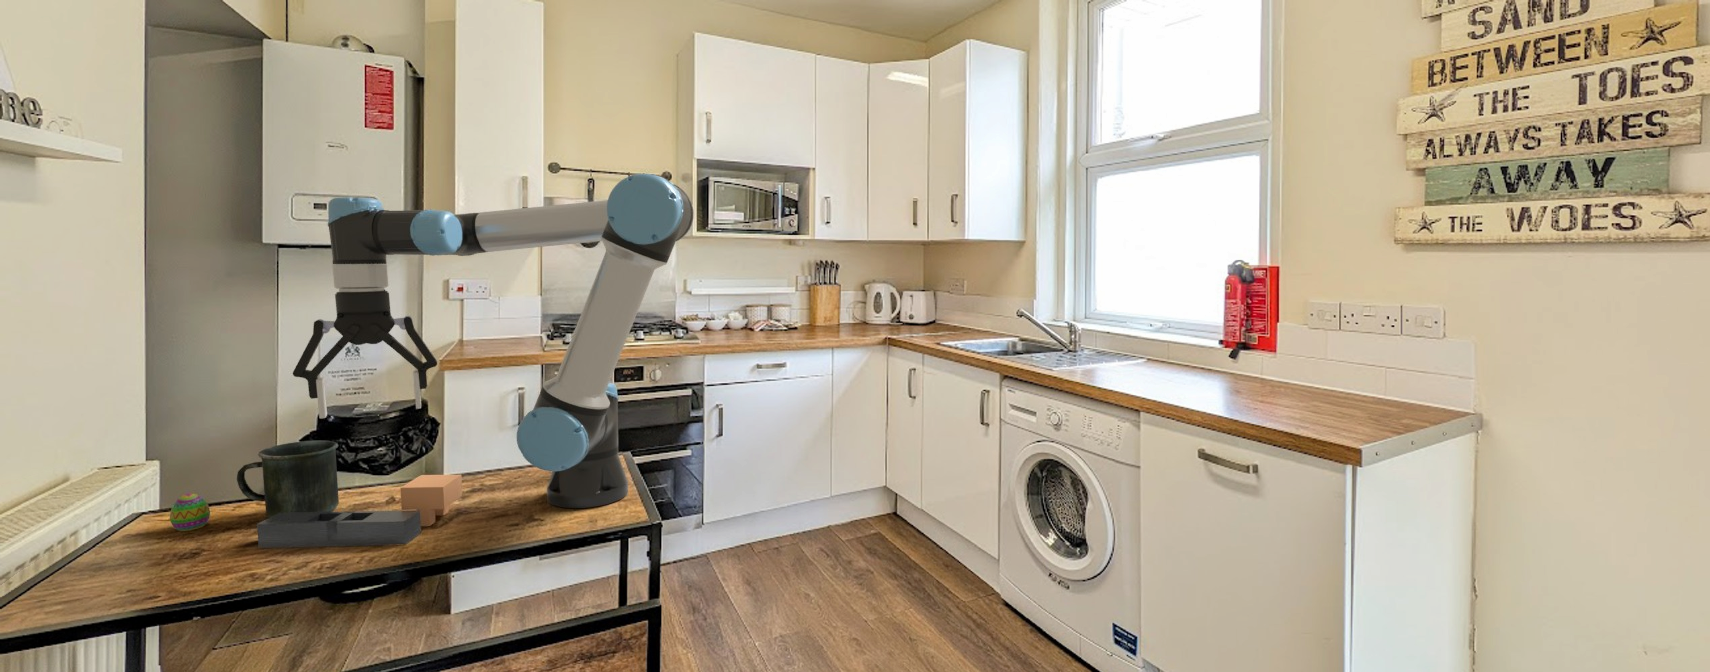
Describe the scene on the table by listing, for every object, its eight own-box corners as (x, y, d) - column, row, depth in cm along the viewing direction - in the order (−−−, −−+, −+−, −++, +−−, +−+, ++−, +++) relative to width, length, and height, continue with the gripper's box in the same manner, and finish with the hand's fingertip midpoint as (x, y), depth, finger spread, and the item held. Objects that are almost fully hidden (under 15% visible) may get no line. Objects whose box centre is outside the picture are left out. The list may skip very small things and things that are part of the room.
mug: (333, 518, 123) (329, 453, 121) (228, 530, 116) (222, 461, 115) (348, 498, 132) (344, 438, 131) (252, 508, 126) (247, 444, 125)
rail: (421, 532, 117) (420, 510, 117) (405, 544, 112) (404, 521, 112) (280, 535, 115) (279, 512, 114) (258, 548, 110) (256, 524, 109)
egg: (217, 525, 118) (214, 491, 118) (181, 535, 114) (177, 500, 113) (201, 520, 120) (198, 487, 120) (164, 530, 116) (161, 496, 115)
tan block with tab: (422, 511, 126) (421, 475, 126) (462, 511, 127) (461, 474, 127) (402, 526, 120) (400, 487, 119) (445, 525, 120) (443, 487, 120)
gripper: (446, 287, 127) (454, 400, 129) (271, 291, 114) (284, 416, 116) (447, 288, 120) (455, 407, 123) (262, 293, 107) (275, 425, 110)
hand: (372, 412), depth 119 cm, fingers open, 13 cm apart
